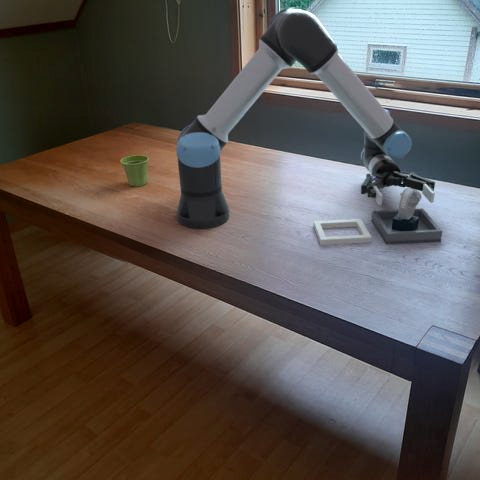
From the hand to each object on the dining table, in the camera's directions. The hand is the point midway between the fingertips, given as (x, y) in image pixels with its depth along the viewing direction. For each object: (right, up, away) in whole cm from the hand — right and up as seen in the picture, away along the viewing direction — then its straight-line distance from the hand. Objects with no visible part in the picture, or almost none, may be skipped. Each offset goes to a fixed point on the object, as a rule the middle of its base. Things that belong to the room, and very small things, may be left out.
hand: (406, 199), depth 135 cm
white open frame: (-17, -9, +2) cm, 19 cm away
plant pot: (-78, +8, +41) cm, 89 cm away
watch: (0, -8, +2) cm, 8 cm away
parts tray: (0, -8, +3) cm, 9 cm away
